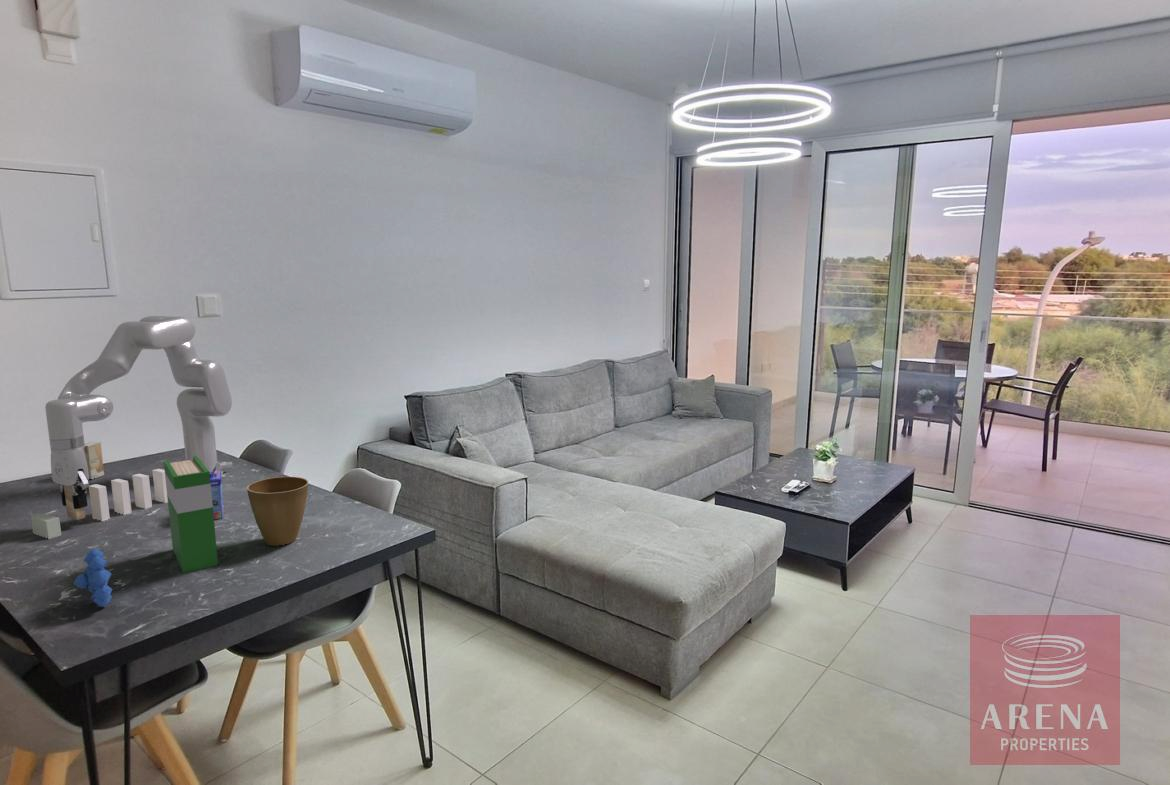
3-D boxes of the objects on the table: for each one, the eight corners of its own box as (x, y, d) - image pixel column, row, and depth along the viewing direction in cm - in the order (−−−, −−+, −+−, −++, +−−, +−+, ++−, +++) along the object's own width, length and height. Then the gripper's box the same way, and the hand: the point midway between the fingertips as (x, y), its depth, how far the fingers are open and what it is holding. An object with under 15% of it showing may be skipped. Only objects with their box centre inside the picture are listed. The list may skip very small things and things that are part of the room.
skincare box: (91, 480, 228) (87, 446, 226) (79, 480, 228) (75, 445, 226) (105, 474, 235) (101, 441, 233) (93, 474, 235) (89, 441, 233)
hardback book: (172, 549, 171) (163, 460, 167) (205, 542, 176) (196, 456, 172) (183, 573, 158) (173, 477, 154) (218, 565, 162) (209, 471, 158)
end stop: (46, 530, 183) (43, 513, 183) (61, 535, 180) (59, 518, 179) (33, 533, 181) (30, 516, 180) (48, 539, 177) (46, 521, 176)
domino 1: (75, 514, 188) (71, 481, 187) (85, 517, 186) (81, 483, 184) (67, 516, 187) (63, 482, 185) (77, 519, 184) (73, 485, 183)
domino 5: (162, 498, 210) (158, 468, 208) (171, 501, 208) (168, 470, 206) (155, 500, 208) (152, 470, 207) (165, 503, 206) (162, 472, 204)
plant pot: (282, 555, 168) (278, 495, 165) (238, 547, 173) (233, 488, 170) (323, 534, 182) (320, 479, 179) (282, 527, 187) (278, 473, 184)
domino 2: (100, 516, 194) (96, 484, 193) (109, 519, 192) (105, 486, 190) (92, 518, 192) (88, 485, 191) (102, 521, 190) (98, 488, 189)
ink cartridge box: (224, 518, 193) (219, 471, 191) (202, 521, 191) (197, 473, 188) (224, 508, 202) (220, 462, 200) (204, 511, 200) (199, 465, 197)
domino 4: (142, 504, 205) (139, 473, 203) (152, 506, 203) (148, 475, 201) (135, 506, 203) (132, 475, 201) (145, 508, 201) (141, 477, 199)
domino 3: (121, 510, 200) (118, 478, 198) (131, 513, 197) (128, 481, 196) (114, 512, 198) (111, 480, 196) (124, 515, 196) (120, 482, 194)
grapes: (72, 600, 144) (65, 548, 142) (109, 589, 149) (103, 539, 147) (81, 619, 136) (74, 565, 134) (120, 608, 141) (114, 555, 139)
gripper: (35, 442, 183) (43, 505, 186) (68, 450, 176) (76, 515, 179) (66, 437, 190) (73, 497, 193) (99, 444, 182) (106, 506, 185)
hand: (75, 505), depth 186 cm, fingers closed on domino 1, 4 cm apart
